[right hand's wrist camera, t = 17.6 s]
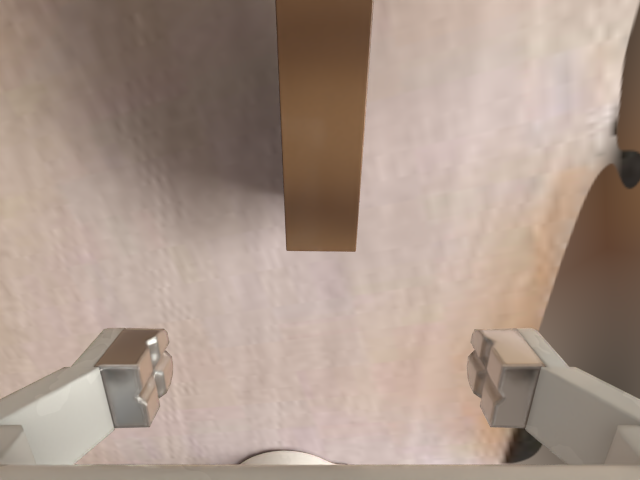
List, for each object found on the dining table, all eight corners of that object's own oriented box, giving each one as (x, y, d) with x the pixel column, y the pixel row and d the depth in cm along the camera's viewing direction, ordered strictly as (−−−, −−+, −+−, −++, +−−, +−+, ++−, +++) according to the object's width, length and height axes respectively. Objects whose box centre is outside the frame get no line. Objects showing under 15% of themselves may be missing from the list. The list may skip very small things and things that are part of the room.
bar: (349, 197, 33) (355, 252, 27) (293, 197, 33) (286, 251, 27) (376, -301, 19) (406, -451, 12) (279, -302, 19) (255, -453, 12)
